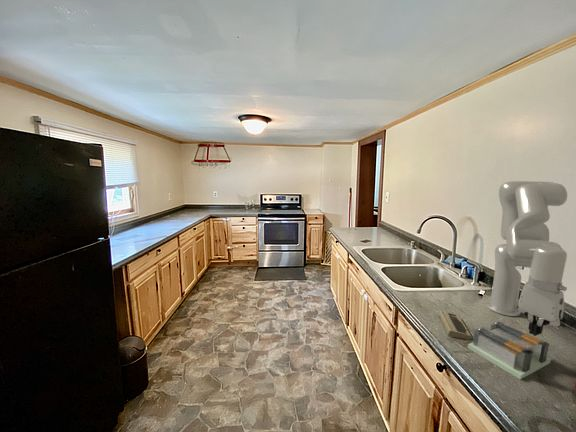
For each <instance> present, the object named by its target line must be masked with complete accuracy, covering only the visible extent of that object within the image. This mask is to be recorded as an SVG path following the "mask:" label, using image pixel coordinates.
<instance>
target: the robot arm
mask: <svg viewBox="0 0 576 432" xmlns="http://www.w3.org/2000/svg"><path fill="white" fill-rule="evenodd" d="M498 198H499V202H500V205H501V209H502V215H501V227H500V235H501V239H503V240H504V241H506V243H502V244H499V245H497V246H496V247H495V249H494V261H495V262H494V273H493V274H494V275H493V279H492V280H493V282H492V287H491V288H492V289H491V295H490V300H488V301H486V302H485V306H486V308H488V309H489V310H490V311H492V312H494V313H497V314H500V315H504V316H508V317H519V316H520V315H521V313H522V314H524V315H525V317H526V318H527V321H528V330H529V331H528V333H529V334H531V335H532V336H533V337H536V336H539V335H542V333H543V330H544V326H547V325H549V326H553V327H559V326H561V321H560V320H562V319H563V315H564V310H565V309H564V308H565V294H564V292H566V291H567V289H568V287H567V286H564V285H563V282H562V280H563V277H564V276H563V275H564V272H565V267H566V261H567V258H568V254H567V251H565V250H564V249H563V248H562V246H561V245H560V244H559V243H558V242H554V241H550V230H549V227H548V226H547V224H545V223H546V222H548V221H549V220H550V217H551V216H550V211H549V206H552V207H553V206H554V207H560V206H563V205H564V204H565V203H566V201H568V200H567V199H568V191H567V188H566V187H565V186H564V185H563V184H561V183H557V182H553V181H529V180H528V181H526V180H525V181H524V180H522V181H520V180H516V181H515V180H514V181H513V180H511V181H505V182H504V183H502V184H501V185H500V187H499V189H498ZM516 267H520V268H521V267H522V268H529V269H530V270H529V276H528V281H526V283H525V284H524V285H523V288H522V289H521V284H522V275H521V273H520V271H519V270H518V269H517V268H516ZM520 289H521V293H520ZM537 319H538V320H537Z"/></svg>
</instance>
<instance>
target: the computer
mask: <svg viewBox="0 0 576 432" xmlns="http://www.w3.org/2000/svg"><path fill="white" fill-rule="evenodd" d="M437 316H438V318H439V319H440V322H441V324H442V325H443V328H444V329H445V332H446V334H447V337H452V338H455V339H456V338H457V339H463V340H469V341H470V340H471V341H472V340H473V339H472V338H473V337H472V335H471V333H470V332H469V330H468V328H467V327H466V325H465V323H464V322H463V320H462V319H461V317H460V315H459V314H457V313H453V312H450V311H445V310H439V312H438V314H437Z"/></svg>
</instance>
